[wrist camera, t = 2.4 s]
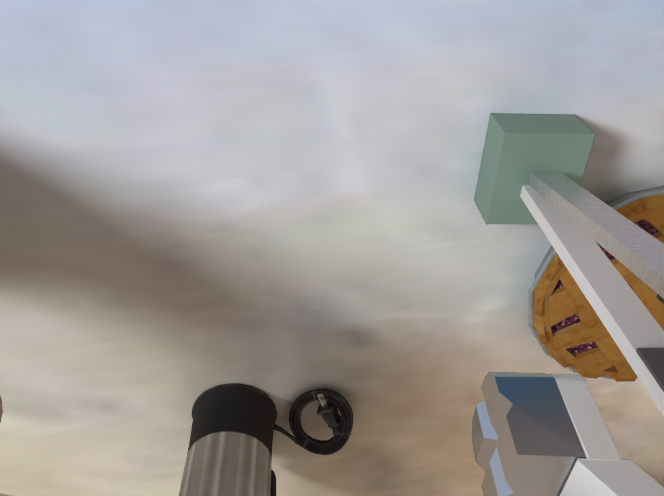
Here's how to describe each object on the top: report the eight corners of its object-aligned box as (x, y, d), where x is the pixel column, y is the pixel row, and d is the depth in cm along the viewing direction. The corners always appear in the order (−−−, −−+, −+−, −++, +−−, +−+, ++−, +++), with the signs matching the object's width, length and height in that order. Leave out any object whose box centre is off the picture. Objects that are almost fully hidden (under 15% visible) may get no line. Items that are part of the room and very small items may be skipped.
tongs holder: (551, 201, 53) (739, 456, 31) (474, 200, 53) (606, 459, 31) (575, 114, 49) (812, 339, 27) (490, 113, 49) (659, 340, 26)
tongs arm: (558, 188, 47) (757, 339, 27) (528, 187, 47) (706, 340, 27) (561, 172, 46) (766, 315, 26) (530, 172, 46) (713, 315, 26)
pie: (586, 385, 67) (605, 421, 63) (475, 271, 58) (489, 304, 53) (781, 274, 60) (817, 305, 56) (690, 121, 50) (726, 146, 46)
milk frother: (173, 408, 66) (145, 538, 53) (283, 336, 61) (280, 461, 48) (261, 469, 72) (255, 598, 60) (367, 409, 67) (384, 535, 55)
